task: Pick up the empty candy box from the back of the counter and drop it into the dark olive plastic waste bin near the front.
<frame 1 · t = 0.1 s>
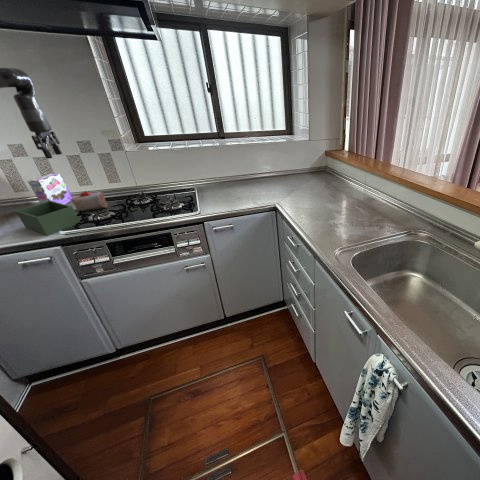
hand: (54, 156, 129), 29 cm above the worktop, tool pointing down, fingers open, 8 cm apart
food item: (93, 209, 147), on the worktop
bin: (53, 225, 130), on the worktop
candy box: (59, 205, 153), on the worktop
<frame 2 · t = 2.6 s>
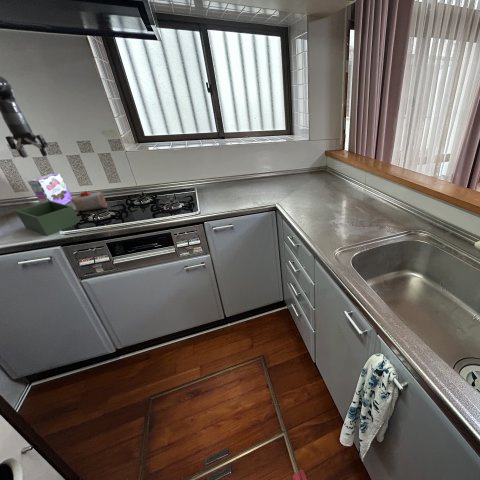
hand: (35, 156, 138), 27 cm above the worktop, tool pointing down, fingers open, 8 cm apart
nothing on the worktop moved.
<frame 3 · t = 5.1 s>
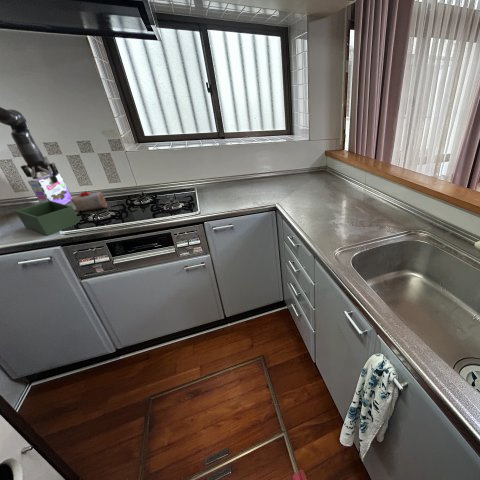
hand: (47, 183, 146), 13 cm above the worktop, tool pointing down, fingers closed on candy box, 7 cm apart
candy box: (59, 205, 153), on the worktop, touching gripper
everything else where it was.
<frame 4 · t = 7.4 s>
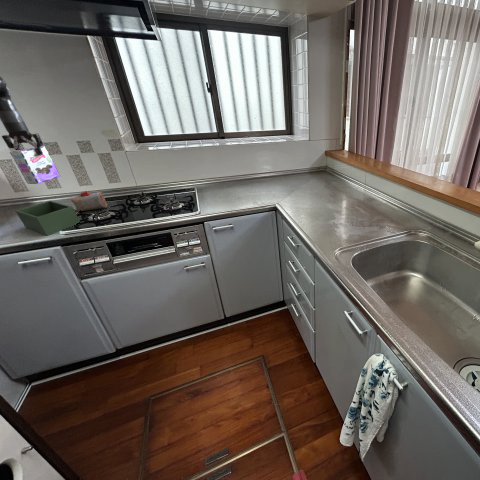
hand: (31, 155, 137), 28 cm above the worktop, tool pointing down, fingers closed on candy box, 7 cm apart
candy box: (45, 180, 144), point 15 cm above the worktop, touching gripper
everything else where it was.
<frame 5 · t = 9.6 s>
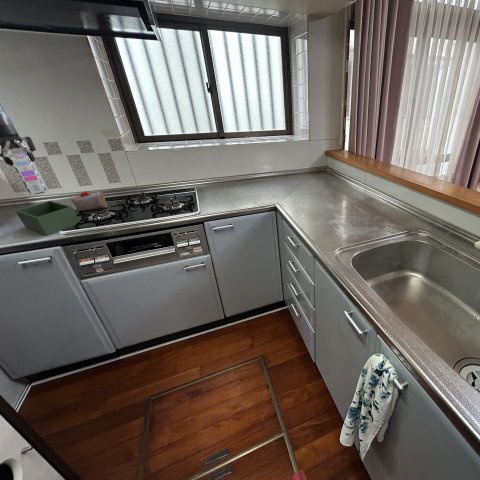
hand: (22, 163, 119), 29 cm above the worktop, tool pointing down, fingers closed on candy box, 7 cm apart
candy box: (38, 191, 126), point 16 cm above the worktop, touching gripper
everything else where it was.
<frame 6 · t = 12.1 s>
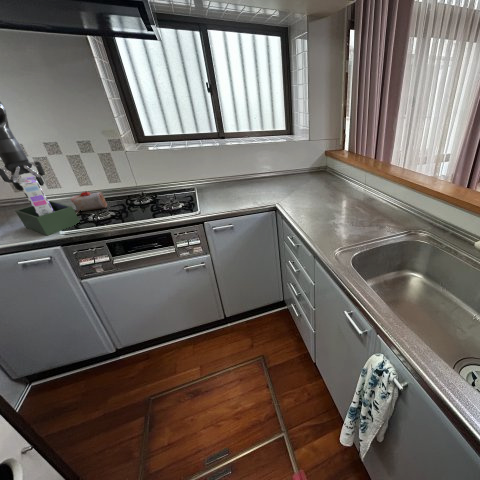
hand: (31, 187, 120), 19 cm above the worktop, tool pointing down, fingers closed on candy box, 7 cm apart
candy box: (46, 214, 127), point 6 cm above the worktop, touching gripper
everything else where it was.
when the fingers open (14 cm above the worktop, at t = 14.1 s): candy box stays where it is, resting on bin.
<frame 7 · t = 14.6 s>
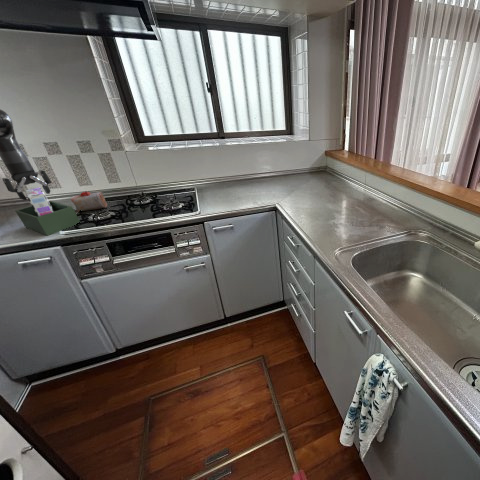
hand: (36, 196, 122), 15 cm above the worktop, tool pointing down, fingers open, 8 cm apart
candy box: (52, 224, 129), point 1 cm above the worktop, touching bin
everything else where it was.
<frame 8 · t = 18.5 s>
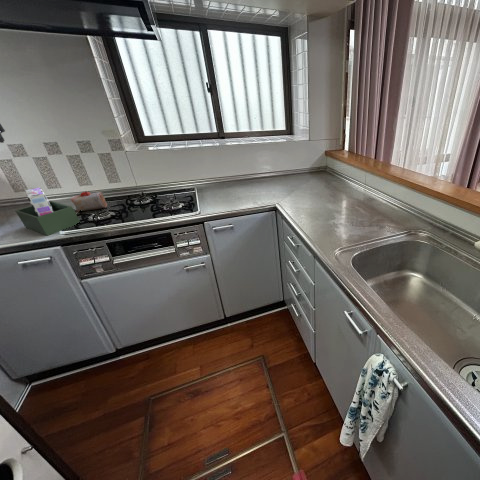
nothing on the worktop moved.
at the end: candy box inside the target area in the bin (0.2 cm from its centre), point 0.8 cm above the bin's base; the gripper is holding nothing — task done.
